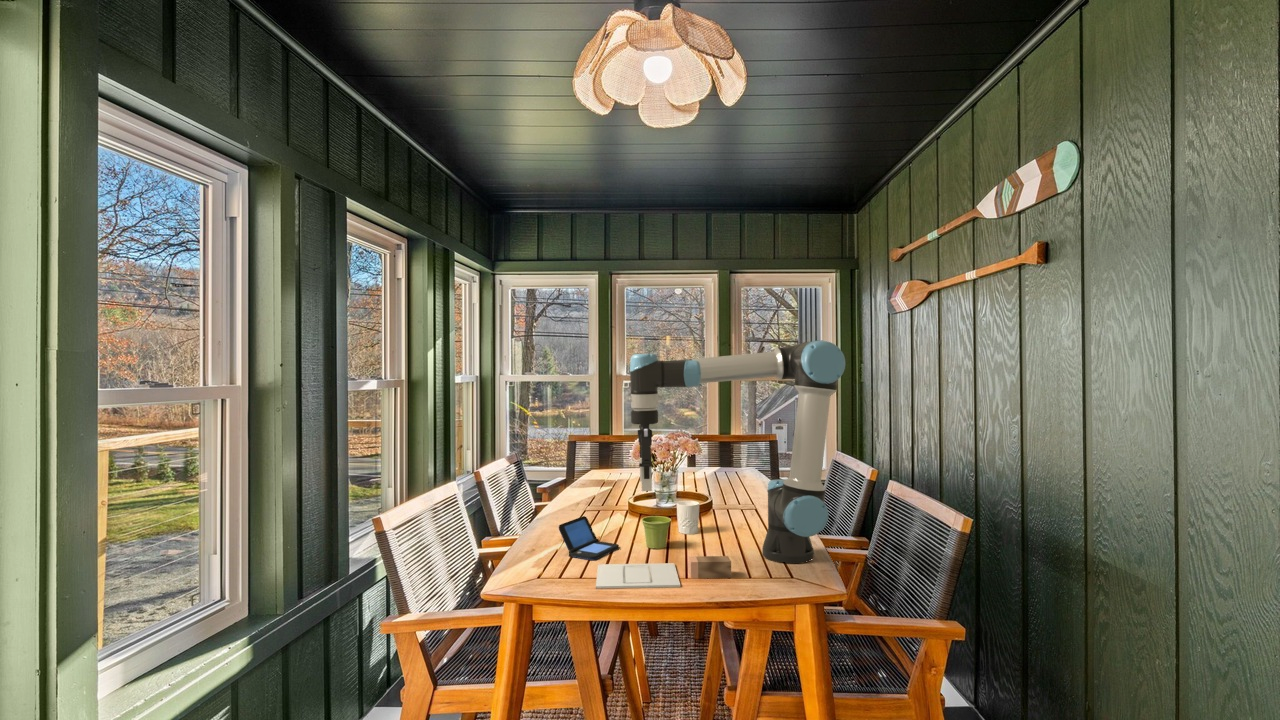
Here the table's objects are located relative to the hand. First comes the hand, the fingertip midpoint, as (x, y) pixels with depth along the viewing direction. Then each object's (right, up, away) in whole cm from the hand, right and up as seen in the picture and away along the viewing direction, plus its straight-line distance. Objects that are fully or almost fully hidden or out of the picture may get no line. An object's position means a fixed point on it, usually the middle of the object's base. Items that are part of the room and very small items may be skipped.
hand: (645, 485), depth 177 cm
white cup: (+15, -25, +43) cm, 52 cm away
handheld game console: (-17, -25, +21) cm, 37 cm away
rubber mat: (-2, -24, -2) cm, 25 cm away
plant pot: (+4, -25, +26) cm, 36 cm away
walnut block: (+18, -24, -1) cm, 30 cm away
